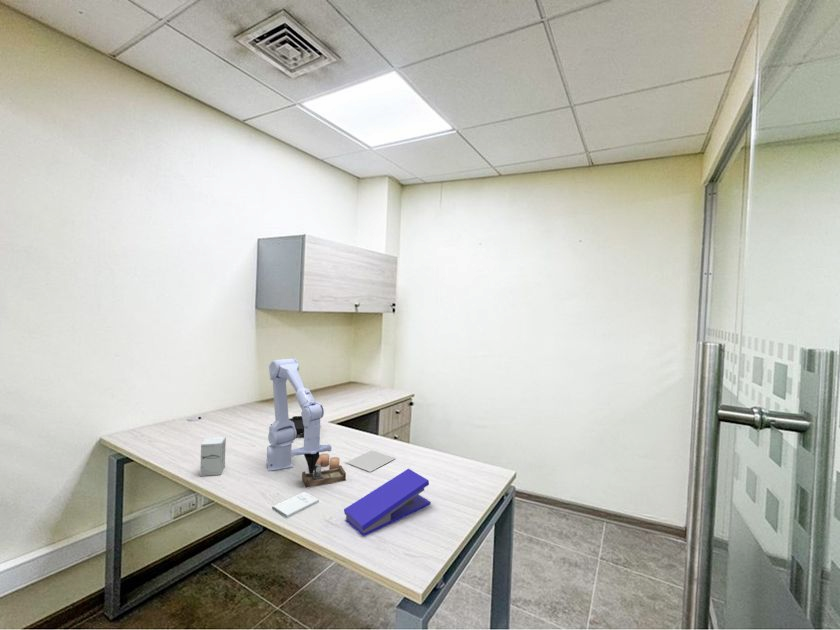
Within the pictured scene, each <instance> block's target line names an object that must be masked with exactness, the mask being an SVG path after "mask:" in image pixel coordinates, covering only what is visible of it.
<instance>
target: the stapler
mask: <svg viewBox="0 0 840 630" xmlns="http://www.w3.org/2000/svg"><path fill="white" fill-rule="evenodd" d="M429 482H430V480H429V479H427V478H425V477H424V476H422V475H420V474H419V473H417V472H415V471H414V470H412V469H410V468H407V469H406V470H404V471H402V472H401V473H399V474H397V475H396V476H394V477H393V478H391V479H389V480H388V481H386V482H385V483H383V484H382V485H380V486H379V487H377V488H376V489H374V490H372V491H371V492H369V493H367V494H366V495H364V496H363V497H361V498H360V499H358V500H356V501H355V502H353V503H351V504H350V505H348V506H347V507H346V508H344V509H343V512H344V515H345V521H346V523H348V524H349V526H351V527H352V528H354V529H355V530H356V531H357V532H358V533H359V534H360V535H361V536H363V537H365V536H369V534H372V533H374V532H376V531H379V530H381V529H382V528H385V527H387V526H389V525H391V524H392V523H395V522H397V521H399V520H401V519H403V518H406V517H407V516H410V515H411V514H414V513H416V512H418V511H420V510H423V509H424V508H427V507H429V506H431V501H430V500H428V499H427V498H424V496H421V495H420V494H421V493H422V492H425V488H426V487H428V486H429V485H430V483H429Z"/></svg>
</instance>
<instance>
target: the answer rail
mask: <svg viewBox="0 0 840 630" xmlns="http://www.w3.org/2000/svg"><path fill="white" fill-rule="evenodd" d="M301 473H302V474H301V480H302V482H303V486H304V488H305V489H307V488H313V487H318V486H322V485H324V486H325V485H328V484H333V483H339V482H344V481H346V480H347V479H346V478H347V472H346V471H345V469H344V468H343V466H342V465H340V464H339V468H337V469H331V470H329V469H327V470H321V473H322V475H323V479H317V480H314V479H313V477H312V473H309V472H308V473H306V471H305V470H304V471H302V472H301Z"/></svg>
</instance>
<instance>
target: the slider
mask: <svg viewBox="0 0 840 630" xmlns="http://www.w3.org/2000/svg"><path fill="white" fill-rule="evenodd" d="M321 471H322V467H321V465H320V464H317V465H315V467H314V471H313V473H312V477H313V479H314V480H317V479H323V475H322V473H321Z"/></svg>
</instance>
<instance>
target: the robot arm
mask: <svg viewBox="0 0 840 630" xmlns="http://www.w3.org/2000/svg"><path fill="white" fill-rule="evenodd" d="M268 369H269V371H268V372H269V380H271V381H272V390H273V392H272V393H273V404H274V405H273V406H274V418H275V419H274V421H273V423H271V424H272V425H271V424H270V426H269V427H268V436H267V438H268V439H267V440H268V443H269V444H270V445H267V451H266V465H267V466H266V467H267V470H268V472H271V471H272V472H273V471H278V470H279V471H280V470H283V469H290V468H291V469H292V468H294V464H293V461H292V458H294V457H297V456H304V458H305V461H306V464H307V468H308V473H313V472H314V467H315V465H316V462H317V460H318V459H319V456H320V455H321V454H320V453H325V452H329V453H330V452H332V445H331V444H321V443H320V441H321V440H320V439H321V437H320V436H321V419H322V418H324V414H325V411H324V407H323V405H322V403H320V402H319V401H316V399H315V398H314V396H313V394H312V392H311V390H310V388H308V387H305V385H304V382H303V380H302V377H301V375H300V373H299V370H300V365H299V361H298V359H296V357H291V358H283V359H273V360H271V362H270V363H269V367H268ZM287 381H288V382H289V383H290V385H291V386H292V388H293V389H294V391H295V399H296V401H297V402H298V404H299V407H300V408H301V409H300V410H301V413H300V414H301V415H300V416H302V419H303V425H304V433H303V446H302V447H299V448H295V449H294V448H293V449H292V446H293V445H292V444H294V441H295V440H296V439H297V436H298V435H297V432H296V429H295V425H294V422H292V421H291V420H289V419H290V416H289V407H288V394H287Z"/></svg>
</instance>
